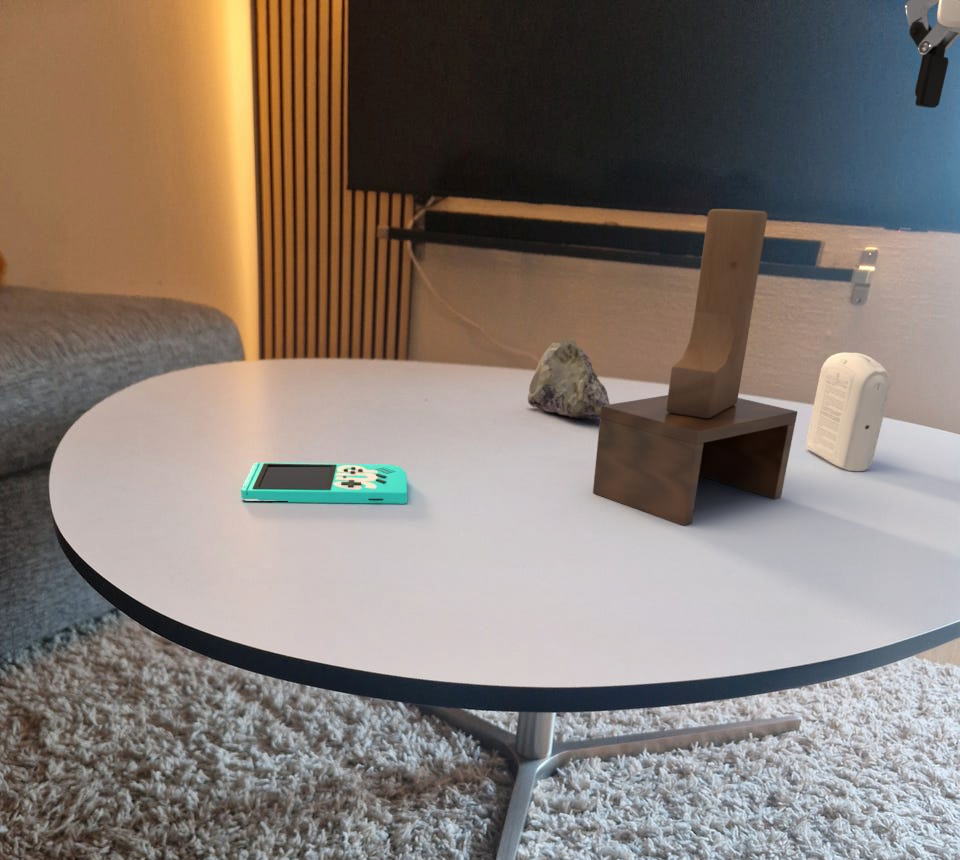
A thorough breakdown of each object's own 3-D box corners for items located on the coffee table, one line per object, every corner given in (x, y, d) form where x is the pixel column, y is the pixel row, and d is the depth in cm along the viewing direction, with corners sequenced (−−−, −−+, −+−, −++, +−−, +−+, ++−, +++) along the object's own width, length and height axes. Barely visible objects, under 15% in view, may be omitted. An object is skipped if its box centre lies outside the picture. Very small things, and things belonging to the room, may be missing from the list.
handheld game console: (407, 504, 90) (407, 491, 89) (239, 502, 89) (238, 489, 88) (406, 474, 99) (406, 462, 98) (254, 472, 98) (253, 460, 97)
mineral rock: (613, 429, 121) (621, 350, 116) (530, 426, 120) (536, 346, 116) (601, 407, 132) (608, 334, 128) (525, 404, 132) (530, 331, 127)
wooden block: (709, 420, 88) (740, 211, 80) (664, 413, 90) (690, 208, 82) (737, 404, 95) (769, 211, 87) (695, 398, 97) (722, 208, 89)
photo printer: (876, 471, 108) (902, 362, 102) (842, 472, 107) (866, 362, 101) (831, 448, 117) (852, 346, 111) (799, 448, 116) (819, 346, 110)
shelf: (781, 497, 97) (797, 411, 93) (683, 525, 88) (697, 431, 84) (690, 469, 105) (702, 389, 101) (592, 493, 96) (601, 405, 92)
